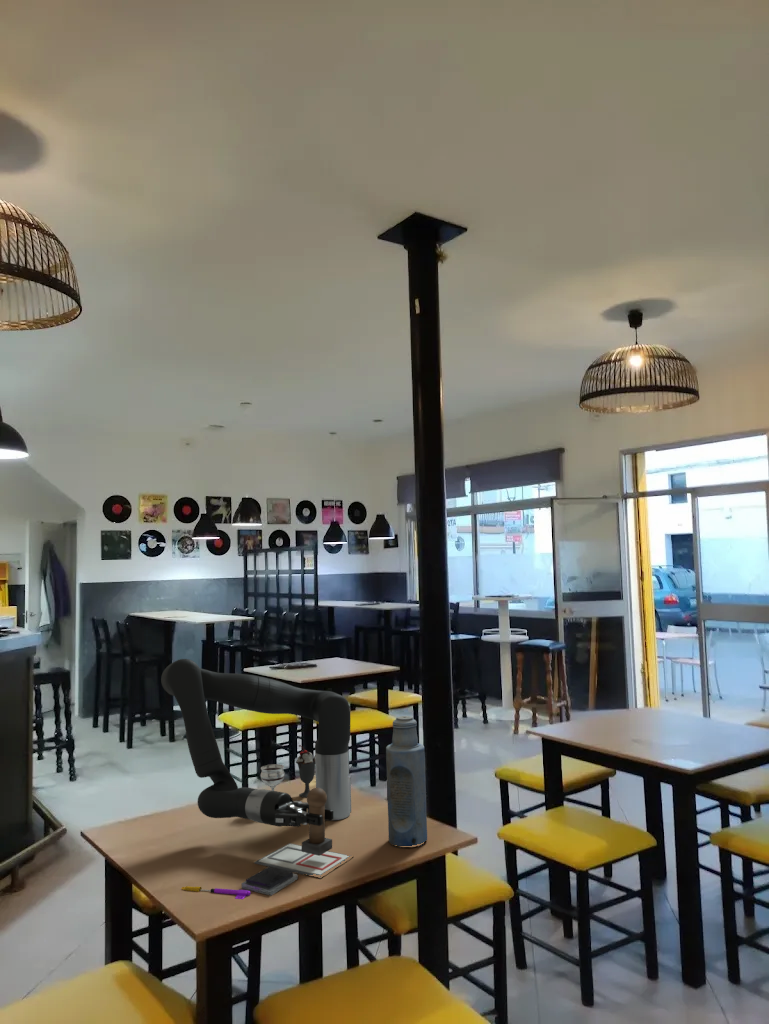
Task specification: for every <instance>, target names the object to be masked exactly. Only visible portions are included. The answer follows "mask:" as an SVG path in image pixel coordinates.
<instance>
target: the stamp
mask: <svg viewBox="0 0 769 1024" xmlns="http://www.w3.org/2000/svg"><path fill="white" fill-rule="evenodd" d="M326 801H327V795H326V793H325V791H324V790H323V789H321V788H316V787H314V788H311V789H310V791H309V793H308V795H307V797H306V803H307V802H308V805H309V813H313V814H319V815H322V816H323V824H322V825H321V826H317V825H312V824H308V838H307V839H305V840H303V841H302V842H301V846H302V852H305V853H310V854H314V855H318V856H320V855H322V854H323V853H325V852H327V851H330V850H332V849H333V838H328V837H325V835H326V833H325V831H326V830H325V829H326V827H325V825H326V824H325V823H326V820H325V803H326Z"/></svg>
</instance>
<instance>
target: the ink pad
mask: <svg viewBox="0 0 769 1024" xmlns="http://www.w3.org/2000/svg"><path fill="white" fill-rule="evenodd" d="M295 880H296V881H297V880H298V873H294V872H292V871H288V870H283V869H279V868H274V867H270V866H269V867H268V866H266V868H264V869H262V870H261V871H259V872H256V873H254V874H253V875H251V876H249V877H247V878H246V880H245V881H243V882H242V883H241V890H248V891H250V892H255V893H259V894H263V895H267V896H273V895H274V894H276V893H277V892H279V891H281V890H282V889H284V888H285V887H287V886H289V885H291V884H292V883H293V882H296V881H295Z"/></svg>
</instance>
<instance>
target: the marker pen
mask: <svg viewBox="0 0 769 1024" xmlns="http://www.w3.org/2000/svg"><path fill="white" fill-rule="evenodd" d="M181 889H182V890H183V891H190V892H196V893H199V892H200V891H204V892H210V893H212V894H220V895H221V894H222V895H232V896H233V895H235V897H234V899H236V900H237V899H238V900H244V899H245V898H246V897H250V896H251V893H252V891H250V890H246V889H232V888H231V889H230V888H229V889H228V888H211V889H203V888H202V886H191V885H189V886H188V885H185V886H182V887H181V888H180V890H181Z"/></svg>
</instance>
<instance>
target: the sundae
mask: <svg viewBox="0 0 769 1024" xmlns="http://www.w3.org/2000/svg"><path fill="white" fill-rule="evenodd" d="M298 747H300V749H301V750H300V752H299V756H298V757H297V760H296V761H295V764H297V766H298V773H299V779H300V781H301V782H303V784H304V785H305V786H304V787H305V788H304V791H303V792H301V793H299V797H300V798H306V799H307V795H308V793H309V791H310V790H311V789H310V783H312V781H313V780H314V779H315V778H314V777H315V771H316V765H315V755H313V753H312V752H310V751H308V750H306V749H305V748H304V747H303V746H302V744H299V745H298ZM313 756H314V757H313Z"/></svg>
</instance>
